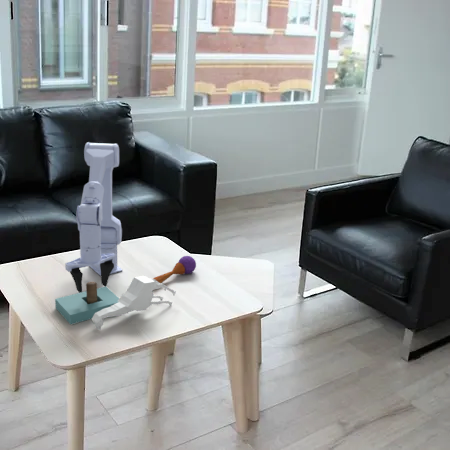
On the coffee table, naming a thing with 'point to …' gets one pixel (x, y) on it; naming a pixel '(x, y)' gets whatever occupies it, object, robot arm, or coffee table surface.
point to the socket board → (84, 305)
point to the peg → (91, 292)
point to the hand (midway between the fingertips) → (91, 287)
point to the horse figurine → (133, 299)
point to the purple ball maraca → (179, 268)
